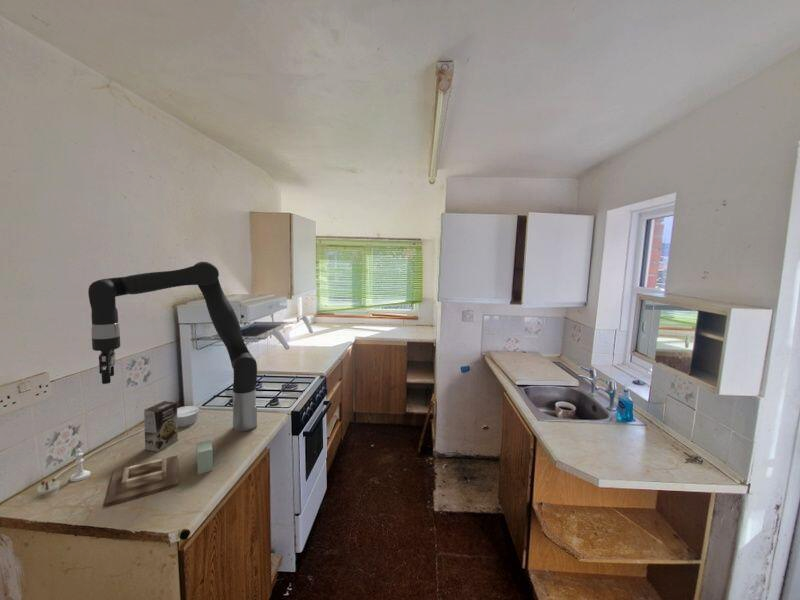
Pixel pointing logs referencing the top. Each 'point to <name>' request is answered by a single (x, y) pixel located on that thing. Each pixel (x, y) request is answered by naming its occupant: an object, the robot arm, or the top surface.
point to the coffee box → (160, 426)
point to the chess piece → (79, 468)
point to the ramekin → (187, 415)
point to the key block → (204, 456)
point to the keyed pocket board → (143, 479)
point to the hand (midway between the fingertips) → (108, 379)
